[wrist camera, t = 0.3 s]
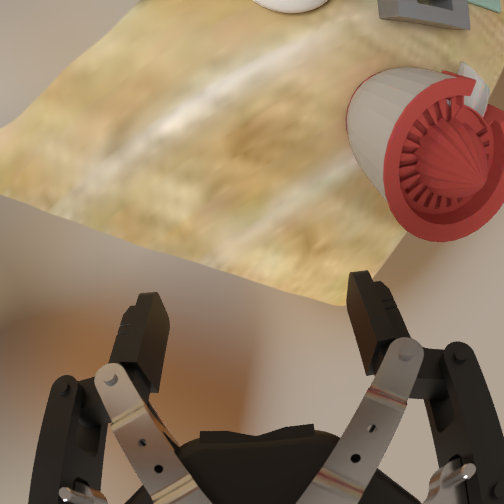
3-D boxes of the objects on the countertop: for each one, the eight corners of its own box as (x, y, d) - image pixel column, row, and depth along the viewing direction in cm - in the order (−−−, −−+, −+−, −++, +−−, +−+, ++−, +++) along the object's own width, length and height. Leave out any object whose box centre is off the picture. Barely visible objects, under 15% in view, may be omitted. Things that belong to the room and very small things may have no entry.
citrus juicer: (457, 87, 32) (565, 136, 16) (405, 188, 41) (480, 279, 25) (365, 26, 28) (467, 23, 12) (310, 145, 38) (361, 232, 22)
